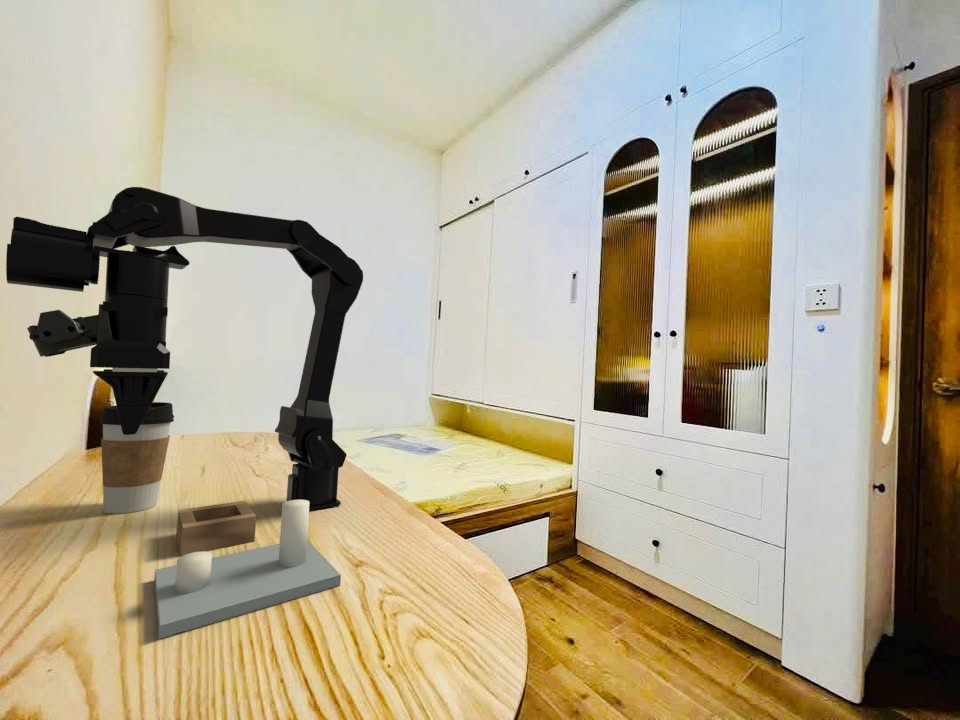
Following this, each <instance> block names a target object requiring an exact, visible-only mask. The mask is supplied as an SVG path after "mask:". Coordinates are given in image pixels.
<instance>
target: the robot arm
mask: <svg viewBox="0 0 960 720" xmlns="http://www.w3.org/2000/svg"><path fill="white" fill-rule="evenodd" d="M12 220H13V222H12V223H13V224H12V225H13V226H12V229H11V234H10V235H11V236H10V243H7V244H6V259H5V260H6V262H5V264H6V265H5V267H6V268H5V270H6V271H5V272H6V273H5V274H6V275H5V276H6V282H7V284H11V285H18V286H29V287H37V288H38V287H39V288H46V289H47V288H48V289H55V290H63V291H71V292H79V293H80V292H81V293H84V290H85V286H86V287H87V286H88V287H89V286H90V285H98V283H99V277H100V276H99V275H100V260H101V259H100V258H102V257H103V258H106V271H105V272H106V275H105V276H106V277H105V291H104V301H102V303H99V304H98V314H95V315H89V316H84V317H83V316H76V318H71V316H69V315H68V314H67V313H65V312H64V311H62V310H60V309H54V310H50V311H42V312H40V313H39V317H38V320H37V325H35V324H34V325H29V326H28V327H27V328H26V329H27V331H28V333H29V336H28V337H29V339H30V340H31V341H32V342H33V343H34V346H35V348H36V351H37V353H38V354H39V357H45V358H47V357H53V356H59V355H63V354H64V355H65V353H66V352H68V351H73V350H78V349H82V348H88V347H91V348H90V361H89V367H90V368H104V369H103V370H92V373H93V374H94V376H97V377H98V378H99V379H101V380H102V381H104V382H105V383H106V384H107V385H109V386H110V388H112V391H113V395H114V401H115V404H116V405H115V406H117V410H118V415H119V419H120V424H121V428H122V433H123V434H124V435H133V434H136V433H137V431H138V429H139V427H140V425H141V423H142V421H143V419H144V417H145V416H146V414H147V412H148V410H149V408H150V406H151V404H152V402H154V400H155V399H156V396H157V395H158V392H159V391H160V389H161V387H162V386H163V382H164V381H165V379H166V378H167V376H168V373H169V372H168V371H165V370H167V369H168V370H170V365H171V364H170V363H171V351H170V350H169V349H168V348H167V341H166V339H167V322H168V313H169V308H168V304H169V303H168V300H169V299H168V298H169V282H170V281H169V277H170V269H176V270H184V269H185V268H186V267H188V266H189V265H190V264H191V263H190V261H189V259H187V258H186V257H185V256H184V255H183V254H181V253H180V252H179V250H178V249H177V245H184V244H192V243H214V244H225V245H226V244H227V245H237V246H251V247H261V248H271V249H273V248H274V249H281V250H282V249H284V250H286V251H288V253H290V255H291V256H292V257H293V259H294V260H295V261H296V263H297V265H298V266H299V268H300V269H301V270H302V272H303V273H304V274H305V275H306V276H307V277H309V279H311V297H312V302H313V305H314V316H313V321H312V324H311V325H312V326H311V330H310V333H309V334H310V335H309V340H308V345H307V349H306V354H305V360H304V363H303V368H302V374H301V379H300V384H299V388H298V393H297V396H296V398H295V400H294V401H293V403H292V404H291V406H284V405H281V406H280V409H279V421H278V424H277V426H276V427H275V430H274V432H275V433H278V437H277V439H278V440H277V441H278V443H279V444H278V445H280V447H282V449H283V450H285V451H286V452H287V453H288V456H289V460H290V461H291V462H293V463H292V465H291V466H292V468H291V474H290V473H289V474H288V475H287V486H286V487H287V488H286V501H290V500H307V501H309V502H310V503H309V511H313V510H319V509H323V508H324V509H325V508H329V507H330V508H331V507H336V506H341V504H342V501H340V500H339V499H338V483H339V470H340V469H339V468H343V466H344V463H345V460H346V459H347V458H346V457H347V455H348V454H347V453H346V452H345V450H343V448H341V446H340V445H339V444H338V443H337V442H336V441H335V440H334V439H333V437H334V434H333V433H334V426H333V425H334V418H333V413H332V410H331V406H330V395H331V392H332V391H331V390H332V386H333V381H334V380H333V379H334V376H335V375H334V374H335V369H336V365H337V361H338V355H339V350H340V344H341V340H342V336H343V335H342V333H343V329H344V324H345V319H346V315H347V313H348V312H349V310H350V309H351V307H352V305H353V304H354V302H355V301H356V300H357V298H358V296H359V294H360V293H359V292H360V290H361V289H362V288H361V287H362V285H363V282H364V271H363V269H362V268H361V267H360V265H359V263H357V261H355V259H353V258H352V257H349V256H348V255H347V254H346V252H344V251H343V250H342V249H341V247H340V246H338V245H336V244H335V242H333V241H330V240H329V239H328V238H326V237H325V236H323V235H321V234H320V233H319V231H317V230H316V229H315V227H314V226H313V225H311V223H309V222H308V221H306V220H305V221H304V220H301V219H284V218H276V217H270V216H263V215H261V216H260V215H258V214H257V215H256V214H248V213H247V214H246V213H241V212H234V211H228V210H226V211H225V210H219V209H211V208H206V207H203V206H198V205H196V204H193V203H191V202H189V201H186V200H184V199H183V198H181V197H178V196H175V195H171V194H167V193H163V192H161V191H159V190H153V189H150V188H147V187H142V186H129V187H125V188H124V189H122V190H121V191H119V192H118V193H117V194H116V195H115V196H114V198H113V200H112V202H111V205H110V208H109V210H108V213H106V215H104V216H102V217H101V218H100V219H98V220H97V221H93V222H92V224H91V225H90V226H88V228H87V231H85V230H84V231H83V230H78V229H73V228H68V227H65V226H64V227H63V226H58V225H53V224H48V223H44V222H40V221H37V220H35V219H31V218H26V217H21V216H15V217H13V219H12ZM128 245H130V246H132V247H133V248H132V251H131V250H123V249H120V248H123V247H126V246H128ZM167 246H168V248H167V249H165V250H161V249H155V248H152V247H167ZM169 246H170V247H169ZM118 248H119V249H118ZM92 346H93V347H92Z"/></svg>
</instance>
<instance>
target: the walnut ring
mask: <svg viewBox="0 0 960 720" xmlns="http://www.w3.org/2000/svg"><path fill="white" fill-rule="evenodd" d="M256 524H257V515H256V514H255V512H254V511H253V510H252V509H251V508H250V506H249V504H248V503H247V502H246V501H245V500H240V501H234V502H227V503H226V502H225V503H220V504H219V503H218V504H213V505H212V504H211V505H204V506H197V507H190V508H183V509H178V510H177V521H176V532H175V533H176V534H175V535H176V539H177V543H178V549H179V552H180V557H181V556H183V555H186V554H189V553H193V552H201V551H205V552H208V551H212V550H217V549H222V548H227V547H231V546H233V547H234V546H236V545H241V544H246V543H251V542H255V538H256V537H255V536H256Z"/></svg>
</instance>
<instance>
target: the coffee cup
mask: <svg viewBox="0 0 960 720" xmlns="http://www.w3.org/2000/svg"><path fill="white" fill-rule="evenodd" d="M174 418H175V416H174V411H173V403H171V402H163V401H162V402H161V401H160V402H159V401H155V402H154V401H153V402H152V404H151V406H150V408H149V410H148V412H147V414H146V416H145V417H144V419H143V421H142V423H141V425H140V427H139V429H138V431H137V433H136V434H133V435H124V434H123V433H122V428H121V424H120V419H119V415H118V410H117V406H116V405H108V406H104V407H103V409H102V413H101V416H100V417H99V424H102V437H101V438H100V442H101V444H100V445H101V446H100V447H101V465H102V466H101V468H102V469H101V472H102V491H103V493H102V496H103V497H102V498H103V500H102V501H103V503H102V505H103V506H102V507H103V508H102V509H103V512H104V513H107V514H116V515H117V514H129V513H137V512H141V511H145V510H148V509H151V508H153V507H155V506H157V504H158V499H159V494H160V488H161V481H162V477H163V473H164V468H165V464H166V463H165V462H166V457H167V452H168V448H169V443H170V438H171V436H170V433H169V432H170V429H171V423H173V422H174V421H175V420H174Z"/></svg>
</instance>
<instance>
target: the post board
mask: <svg viewBox="0 0 960 720" xmlns="http://www.w3.org/2000/svg"><path fill="white" fill-rule="evenodd" d="M309 503H310V502H309V501H307V500H290V501H287V500H285V501H284V502H282V506H281V518H280V520H281V521H280V534H279V535H280V536H279V543H276V544H271V545H266V546H263V547H262V546H261V547H256V548H252V549H247V550H242V551H237V552H233V553H228V554H223V555H222V554H221V555H218V556H213V554H212V552H210V551H201V552H193V553H189V554H186V555H182V556H181V555H180V557H179V558H177V560H176V565H171V566H166V567H162V568H161V567H160V568H158V569H154V571H155V572H154V590H155V602H156V603H155V605H156V614H157V615H156V616H157V619H156V620H157V629H158V639H159V640H161V639H165V638H168V637H170V636H171V637H172V636H174V634H175V635H177V634H176V633H178V634H180V633H179V632H181V633H183V632H182V631H185V632H188V631H191V630H195V629H198V628H201V627H204V626H207V625H211V624H215V623H218V622H221V621H225V620H229V619H232V618H235V617H238V616H241V615H244V614H248V613H252V612H255V611H258V610H261V609H264V608H268V607H271V606H275V605H278V604H282V603H285V602H288V601H292V600H295V599H298V598H302V597H305V596H306V597H307V596H308V595H311V594H312V595H313V594H316V593H318V592H322V591H325V590H328V589H332V588H336V587H340V586H341V578H342V577H341V576H342V575H341V573H340V572H339V571H338V570H337V569H336V568H335V567H334V566H333V565H332V564H331V562H329V561H328V560H327V559H326V558H325V557H324V555H322V554H321V552H319V550H318V549H316V547H315V546H314V545H313V544H312V543H311V542H310V541H309V540H308V532H309V531H308V530H309V519H310V518H309V516H310V510H309Z"/></svg>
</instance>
